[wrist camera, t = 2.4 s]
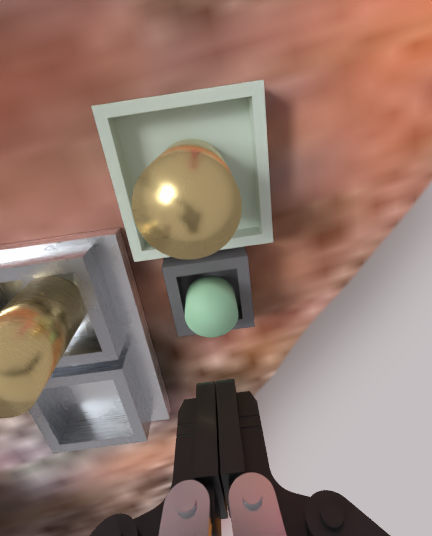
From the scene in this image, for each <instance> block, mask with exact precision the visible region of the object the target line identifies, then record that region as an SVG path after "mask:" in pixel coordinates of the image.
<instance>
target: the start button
mask: <svg viewBox="0 0 432 536" xmlns="http://www.w3.org/2000/svg"><path fill="white" fill-rule="evenodd" d="M237 320H238V308H237V303H236V297H235V292H234V289H233V287H232V285H231V284H230V283H229V282H228V281H227V280H225V279H224V278H221V277H219V276H212V275H210V276H203V277H200V278H198V279H197V280H195V281H194V282H193V283H192V284H191V285H190V286H189V288H188V290H187V294H186V304H185V321H186V324H187V325H188V327H189V328H190V329H191V330H192V331H193V332H194V333H196V334H198V335H200V336H204V337H218V336H222V335H224V334H226V333H228V332H229V331H230V330H231V329H233V327H234V326H235V325H236V323H237Z"/></svg>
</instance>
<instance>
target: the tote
mask: <svg viewBox="0 0 432 536" xmlns="http://www.w3.org/2000/svg"><path fill="white" fill-rule="evenodd" d="M91 107H92V111H93V115H94V118H95V122H96V125H97V129H98V133H99V136H100V140H101V143H102V147H103V151H104V154H105V158H106V162H107V165H108V169H109V172H110V176H111V180H112V183H113V187H114V190H115V194H116V198H117V201H118V205H119V209H120V212H121V216H122V219H123V223H124V227H125V230H126V234H127V238H128V241H129V245H130V248H131V252H132V256H133V259H134V262H138V261H145V260H152V259H159V258H166V257H170V256H168V255H165V254H163V253H161V252H159V251H158V250H156V249H155V248H154V247H152V246H151V245H150V244H149V243H148V242H147V241H146V240H145V239H144V238H143V236H142V235H141V233H140V232H139V230H138V228H137V226H136V224H135V221H134V218H133V213H132V195H133V190H134V187H135V185H136V182H137V180H138V178H139V176H140V175H141V174H142V172H143V171H144V170H145V169H146V168H147V167H148V166H149V165H150V164H151V163H152V162H153V161H154V160H155V159H156V158H157V157H158V156H159V155H160V154H162V153H163V152H164V151H165V150H166V149H167V148H168V147H169V146H171V145H172V144H174V143H175V142H177V141H180V140H183V139H199V140H203V141H205V142H207V143H209V144H211V145H212V146H214V147H215V148H216V149H217V150H218V151H219V153H220V154H221V155H222V157H223V159H224V161H225V163H226V164H227V166H228V168H229V170H230V172H231V174H232V176H233V178H234V180H235V182H236V184H237V186H238V188H239V192H240V195H241V201H242V213H241V219H240V223H239V225H238V228H237V230H236V232H235V234H234V235H233V237H232V238H231V240H230V241H229V242H228V243H227V244H226V245H225V246H224V247H223V248H221V249H220V250H223V249H230V248H237V247H244V246H251V245H258V244H265V243H272V242H273V228H272V211H271V194H270V177H269V160H268V143H267V126H266V109H265V92H264V80H258V81H251V82H245V83H238V84H232V85H225V86H218V87H212V88H205V89H199V90H192V91H186V92H179V93H173V94H166V95H160V96H153V97H147V98H140V99H133V100H127V101H120V102H114V103H107V104H101V105H94V106H91Z"/></svg>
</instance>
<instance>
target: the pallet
mask: <svg viewBox="0 0 432 536" xmlns="http://www.w3.org/2000/svg"><path fill="white" fill-rule="evenodd" d="M45 276H59V277H62V278H65V279H67V280H69V281H71V282H73V283H74V284H76V285H77V286H78V288H79V291H80V293H81V296H82V299H83V301H84V304H85V307H86V309H87V314H86V316H85V318H84V320H83V321H82V323H81V325H80V326H79V328H78V330H77V332H76V333H75V335H74V337H73V339H72V340H71V342H70V344H69V345H68V347H67V349H66V351H65V352H64V354H63V356H62V357H61V359H60V361H59V363H58V364H57V366H56V368H55V369H54V371H53V373H52V375H51V376H50V378H49V380H48V381H47V383H46V385H45V387H44V388H43V390H42V392H41V393H40V395H39V397H38V399H37V400H36V402H35V404H34V405H33V406H32V408H31V409H29V412H30V414H31V415H32V417H33V419H34V421H35V422H36V424H37V426H38V427H39V429H40V431H41V433H42V434H43V436H44V438H45V440H46V441H47V443H48V445H49V447H50V448H51V450H52V452H53V453H58V452H66V451H74V450H82V449H89V448H97V447H105V446H113V445H120V444H128V443H136V442H144V441H147V440H148V434H149V428H150V422H151V421H158V420H166V419H169V418H170V408H171V406H170V403H169V399H168V395H167V392H166V388H165V385H164V381H163V378H162V374H161V371H160V367H159V364H158V360H157V357H156V353H155V350H154V346H153V343H152V339H151V336H150V332H149V328H148V325H147V321H146V318H145V314H144V311H143V307H142V304H141V300H140V297H139V293H138V290H137V286H136V283H135V279H134V276H133V272H132V269H131V265H130V261H129V258H128V254H127V251H126V247H125V244H124V240H123V237H122V233H121V230H120V228H113V229H106V230H99V231H92V232H86V233H79V234H72V235H65V236H58V237H51V238H44V239H37V240H30V241H23V242H16V243H9V244H2V245H0V311H1V310H2V309H3V308H4V307H5V306H6V305H7V304H8V303H9V302H10V301H11V300H12V299H13V298H14V297H15V296H16V295H17V294H18V293H19V292H20V291H21V290H22V289H23V288H24V287H25V286H27V285H28V284H29V283H30V282H31V281H32V280H34V279H36V278H38V277H45Z"/></svg>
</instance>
